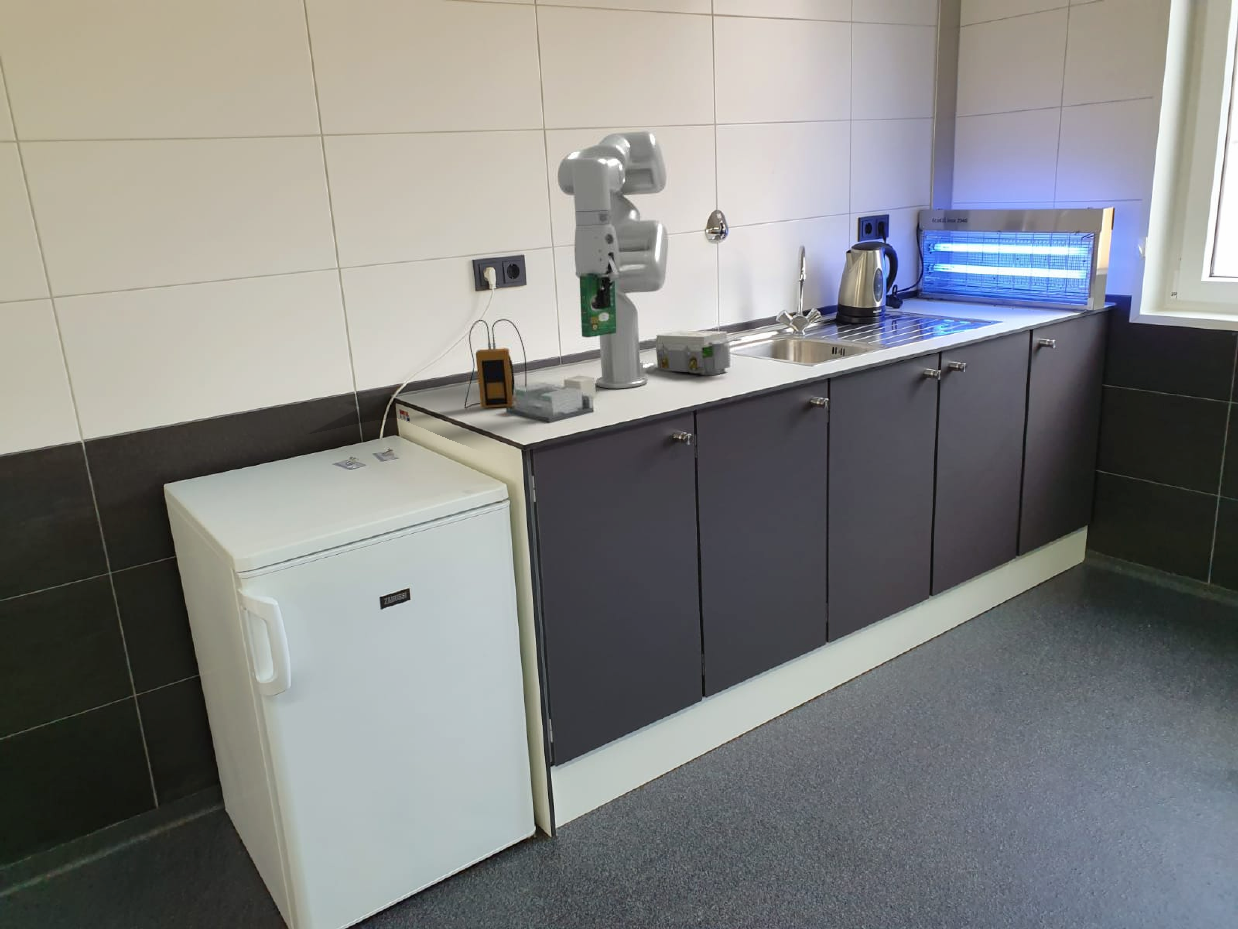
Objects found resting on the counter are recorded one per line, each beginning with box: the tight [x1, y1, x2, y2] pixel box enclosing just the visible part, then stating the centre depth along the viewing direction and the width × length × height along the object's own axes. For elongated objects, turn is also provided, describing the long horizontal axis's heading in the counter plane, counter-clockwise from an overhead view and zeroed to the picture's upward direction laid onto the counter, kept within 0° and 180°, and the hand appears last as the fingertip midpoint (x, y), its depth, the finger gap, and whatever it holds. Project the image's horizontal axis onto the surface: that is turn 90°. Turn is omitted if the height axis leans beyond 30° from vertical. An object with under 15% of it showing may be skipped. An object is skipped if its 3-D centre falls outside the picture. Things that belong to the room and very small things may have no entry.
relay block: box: [563, 375, 597, 400], centre depth 212 cm, size 5×5×5 cm
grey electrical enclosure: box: [644, 330, 742, 376], centre depth 236 cm, size 12×28×10 cm, turn 38°
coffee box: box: [579, 275, 617, 338], centre depth 198 cm, size 8×3×13 cm, turn 130°
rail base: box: [505, 382, 595, 424], centre depth 202 cm, size 12×16×5 cm
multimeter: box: [464, 318, 527, 410], centre depth 211 cm, size 15×10×20 cm
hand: (598, 306), depth 198 cm, fingers closed on coffee box, 3 cm apart
